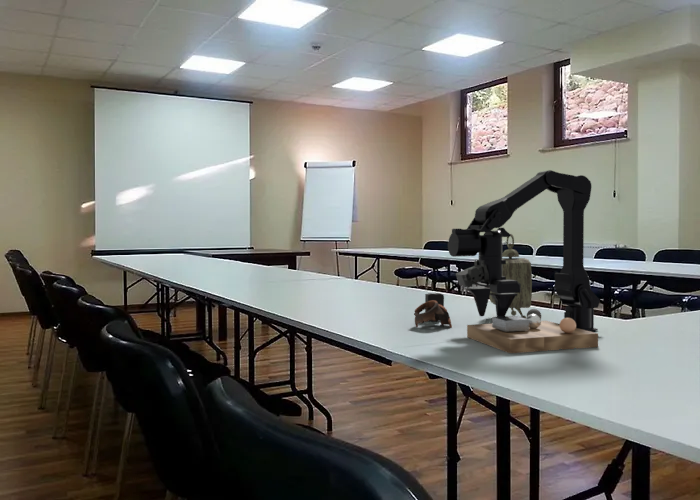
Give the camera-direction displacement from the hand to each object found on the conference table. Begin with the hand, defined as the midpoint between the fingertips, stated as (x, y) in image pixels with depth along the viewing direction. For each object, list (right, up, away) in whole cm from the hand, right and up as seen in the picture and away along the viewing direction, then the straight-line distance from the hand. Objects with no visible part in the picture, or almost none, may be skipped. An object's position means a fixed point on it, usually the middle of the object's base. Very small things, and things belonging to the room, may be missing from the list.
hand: (490, 318), depth 146 cm
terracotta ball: (+14, 0, -14) cm, 20 cm away
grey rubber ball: (+11, +1, +1) cm, 11 cm away
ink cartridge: (-10, -4, +26) cm, 28 cm away
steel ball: (+8, 0, -7) cm, 11 cm away
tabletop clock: (+12, -4, +28) cm, 31 cm away
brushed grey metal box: (+2, -1, -9) cm, 9 cm away
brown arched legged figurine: (-12, -4, +16) cm, 20 cm away
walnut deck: (+7, -5, -8) cm, 11 cm away
